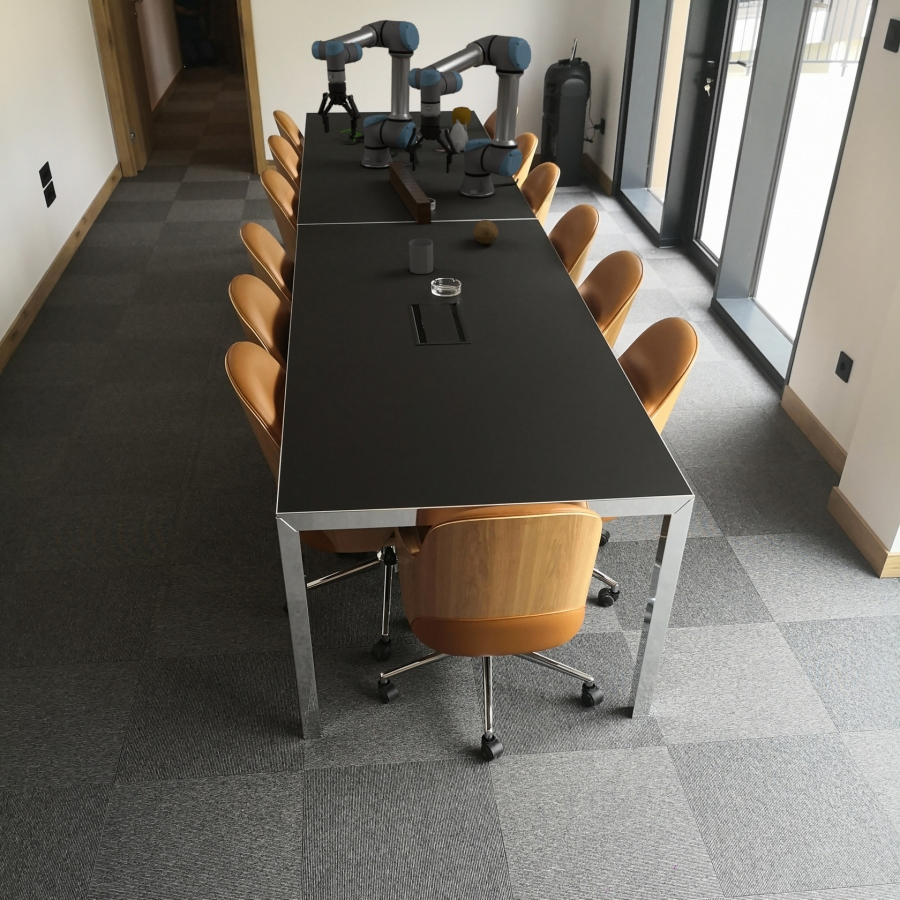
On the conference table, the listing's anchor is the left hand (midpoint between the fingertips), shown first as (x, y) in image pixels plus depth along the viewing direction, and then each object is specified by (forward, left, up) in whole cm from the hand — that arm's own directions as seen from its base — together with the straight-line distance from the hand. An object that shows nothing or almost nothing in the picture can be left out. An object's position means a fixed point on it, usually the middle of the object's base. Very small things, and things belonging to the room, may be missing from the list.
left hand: (340, 134), depth 376 cm
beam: (-6, +32, -25) cm, 41 cm away
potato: (+22, +89, -25) cm, 95 cm away
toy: (-84, +1, -25) cm, 88 cm away
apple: (-130, -23, -25) cm, 134 cm away
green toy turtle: (-78, -50, -25) cm, 96 cm away
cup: (+59, +86, -25) cm, 107 cm away
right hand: (+15, +59, -4) cm, 61 cm away
